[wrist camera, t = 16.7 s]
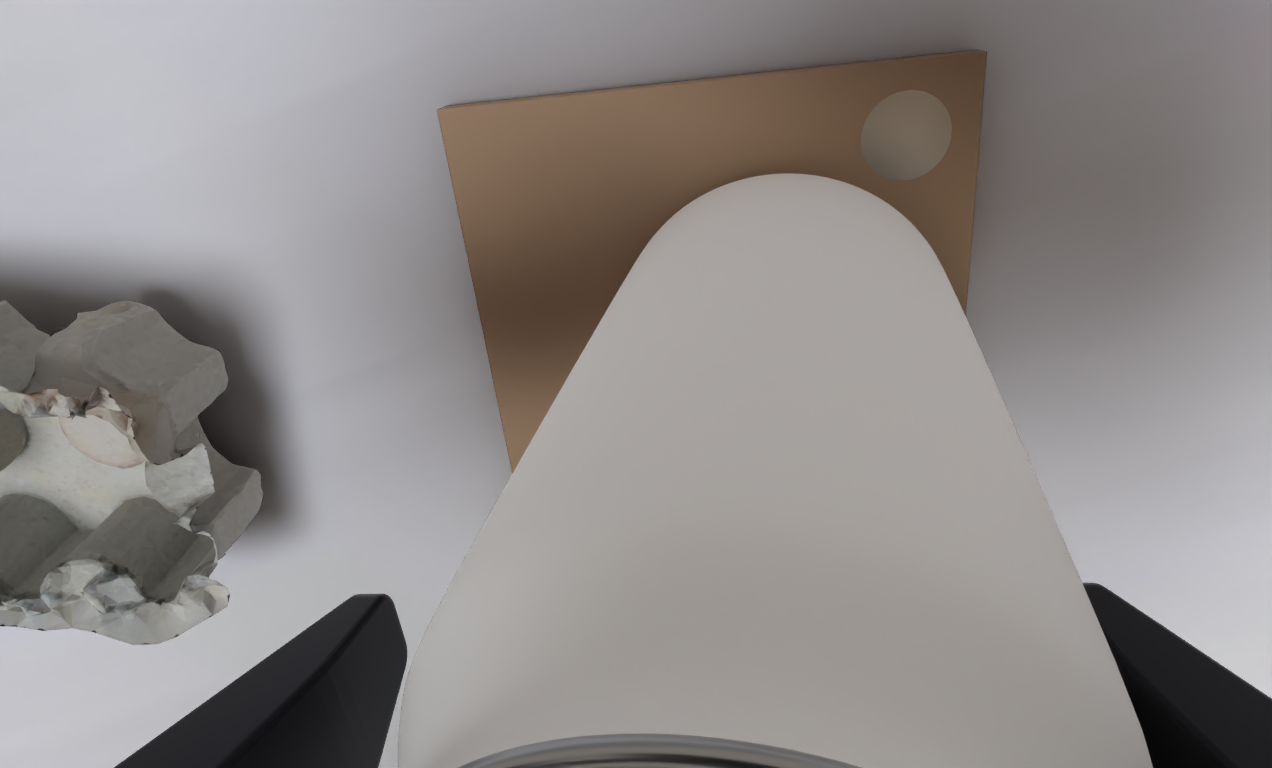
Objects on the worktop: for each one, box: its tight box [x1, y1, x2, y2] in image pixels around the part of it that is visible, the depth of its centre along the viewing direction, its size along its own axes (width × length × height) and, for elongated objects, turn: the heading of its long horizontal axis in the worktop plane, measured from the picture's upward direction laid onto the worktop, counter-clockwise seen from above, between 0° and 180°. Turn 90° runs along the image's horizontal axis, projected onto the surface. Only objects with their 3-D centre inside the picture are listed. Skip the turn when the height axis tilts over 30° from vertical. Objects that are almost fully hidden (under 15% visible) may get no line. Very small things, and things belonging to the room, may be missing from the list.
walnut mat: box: [437, 50, 987, 474], centre depth 17 cm, size 10×10×1 cm
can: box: [398, 173, 1153, 768], centre depth 11 cm, size 6×6×12 cm
